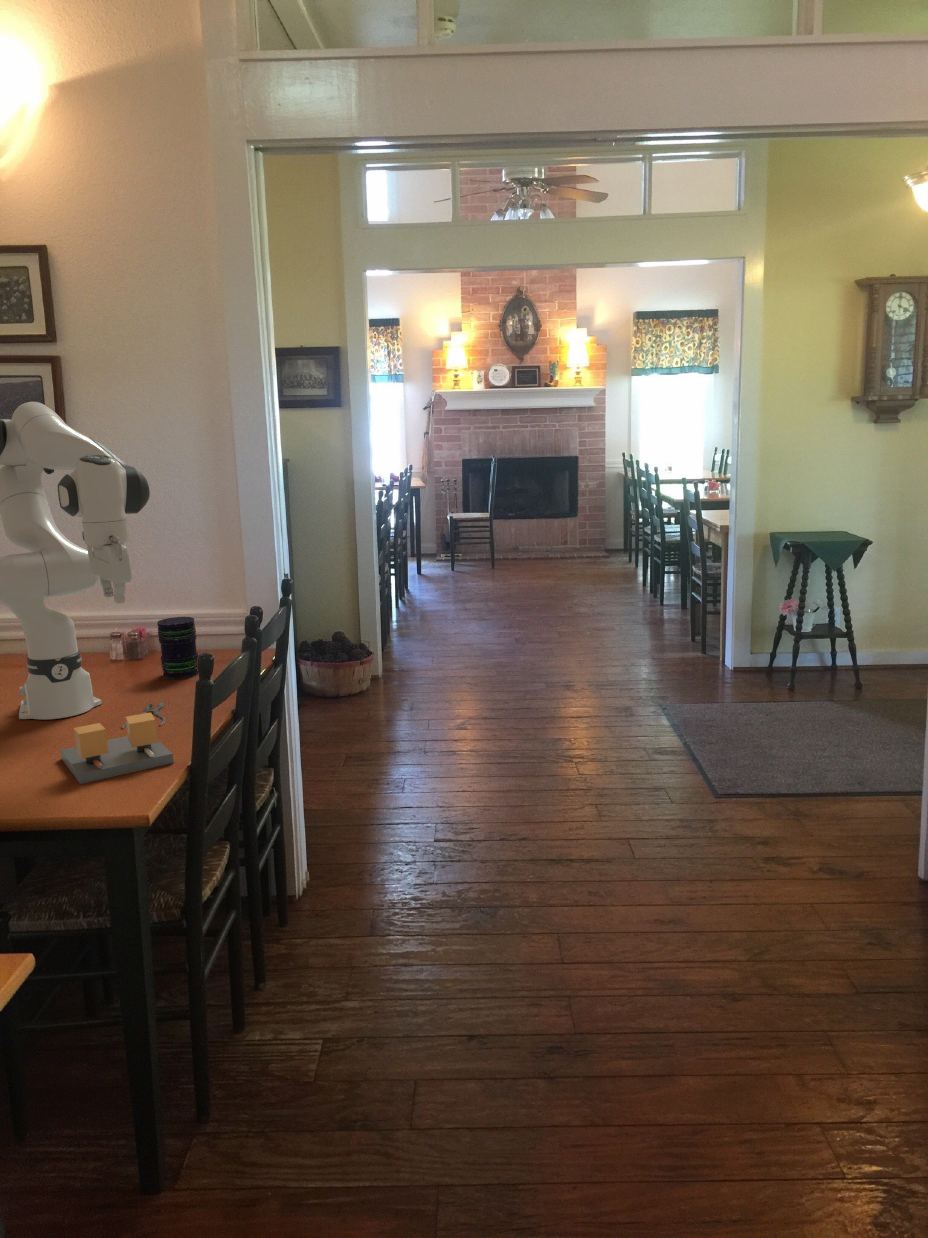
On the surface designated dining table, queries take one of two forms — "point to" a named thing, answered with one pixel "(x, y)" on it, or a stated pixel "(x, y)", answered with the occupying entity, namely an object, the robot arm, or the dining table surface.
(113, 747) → the board
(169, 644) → the storage jar
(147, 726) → the tan wooden toy brick
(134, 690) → the dining table surface
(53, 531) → the robot arm
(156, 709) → the pliers
